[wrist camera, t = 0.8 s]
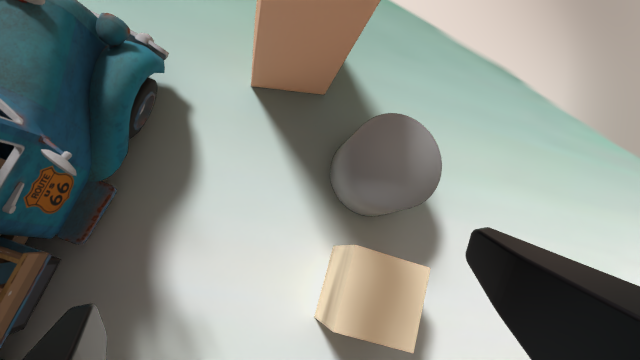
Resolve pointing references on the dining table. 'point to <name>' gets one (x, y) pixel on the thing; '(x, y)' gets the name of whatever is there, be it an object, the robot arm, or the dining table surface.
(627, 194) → the dining table surface
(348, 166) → the grey domed cylinder
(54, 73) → the toy truck
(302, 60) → the peach block
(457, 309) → the dining table surface
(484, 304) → the dining table surface
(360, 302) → the beech cube
